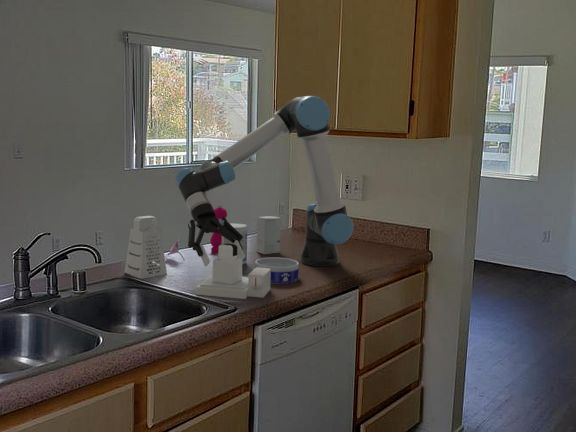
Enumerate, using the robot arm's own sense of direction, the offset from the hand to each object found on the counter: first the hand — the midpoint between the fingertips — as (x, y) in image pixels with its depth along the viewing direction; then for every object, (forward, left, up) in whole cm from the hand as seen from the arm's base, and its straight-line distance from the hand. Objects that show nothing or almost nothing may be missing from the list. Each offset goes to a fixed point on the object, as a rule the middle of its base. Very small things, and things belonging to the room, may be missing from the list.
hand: (225, 261), depth 208 cm
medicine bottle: (-1, +1, -6) cm, 7 cm away
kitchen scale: (-4, +1, -9) cm, 10 cm away
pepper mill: (+18, -53, -9) cm, 57 cm away
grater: (+32, -11, -9) cm, 35 cm away
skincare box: (-1, -60, -9) cm, 61 cm away
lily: (+30, -34, -10) cm, 46 cm away
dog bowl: (-13, -19, -10) cm, 25 cm away
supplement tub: (+7, -36, -9) cm, 38 cm away
